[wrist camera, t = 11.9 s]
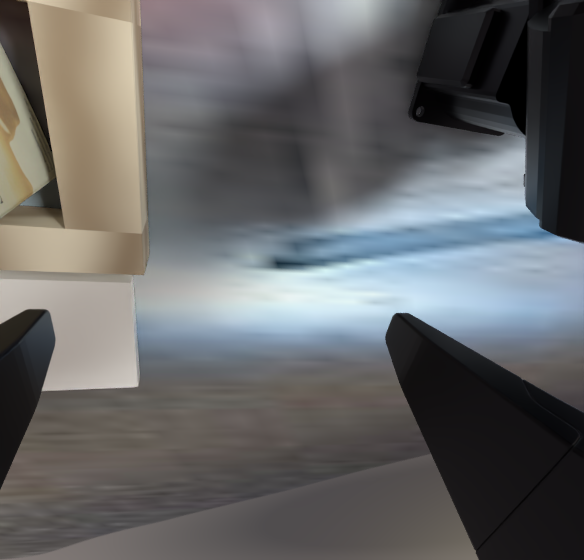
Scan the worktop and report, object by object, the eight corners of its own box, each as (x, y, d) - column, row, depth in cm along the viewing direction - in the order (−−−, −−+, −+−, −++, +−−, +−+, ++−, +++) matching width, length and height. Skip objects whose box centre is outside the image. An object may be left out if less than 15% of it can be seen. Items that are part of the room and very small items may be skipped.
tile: (133, 274, 22) (130, 282, 21) (139, 376, 27) (137, 387, 26) (-110, 265, 19) (-124, 275, 18) (-56, 383, 23) (-65, 395, 23)
